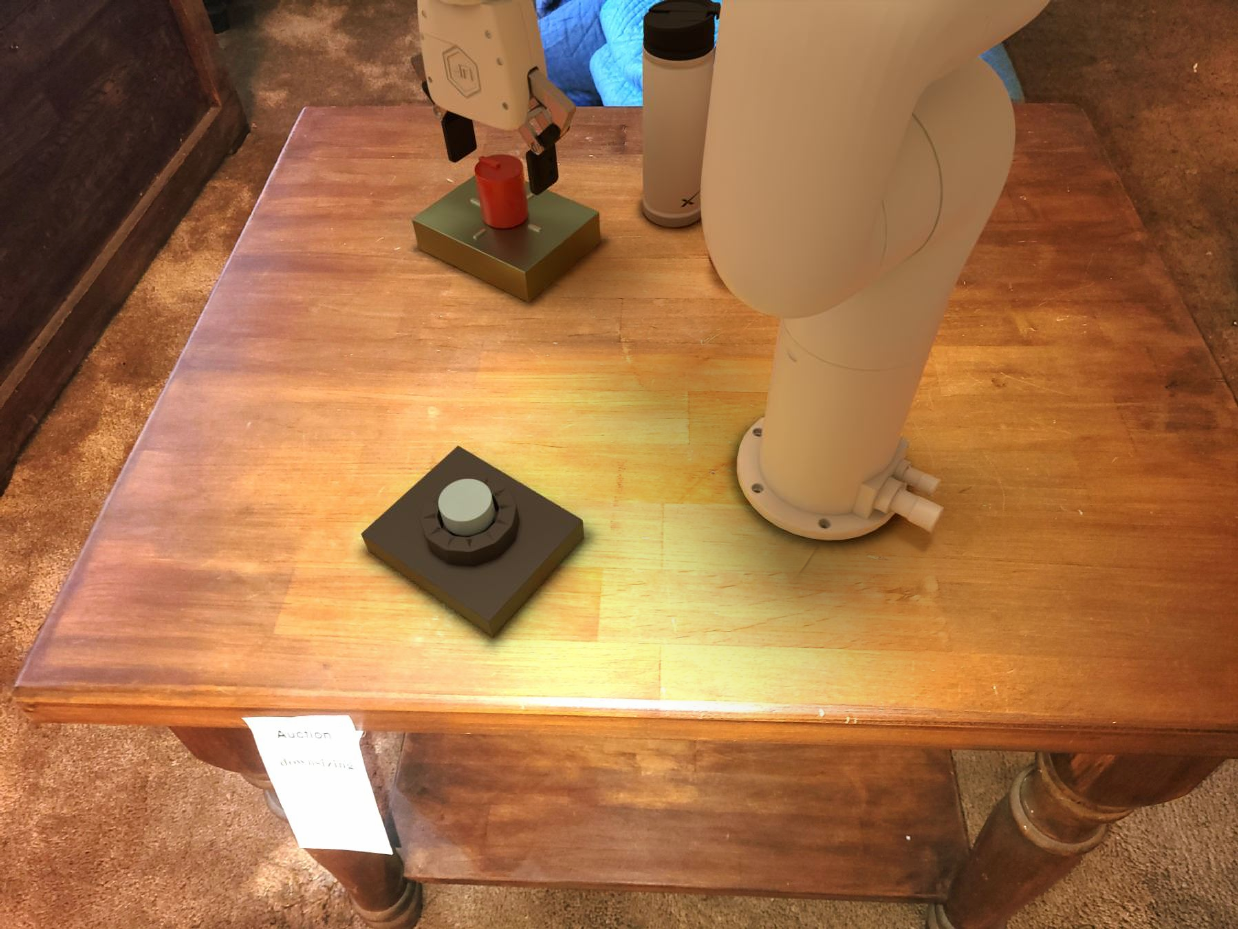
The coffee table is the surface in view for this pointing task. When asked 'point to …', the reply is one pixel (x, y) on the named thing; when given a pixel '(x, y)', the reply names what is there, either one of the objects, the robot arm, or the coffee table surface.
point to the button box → (475, 542)
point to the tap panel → (509, 239)
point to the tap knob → (501, 190)
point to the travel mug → (676, 106)
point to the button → (466, 507)
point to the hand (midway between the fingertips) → (503, 170)
